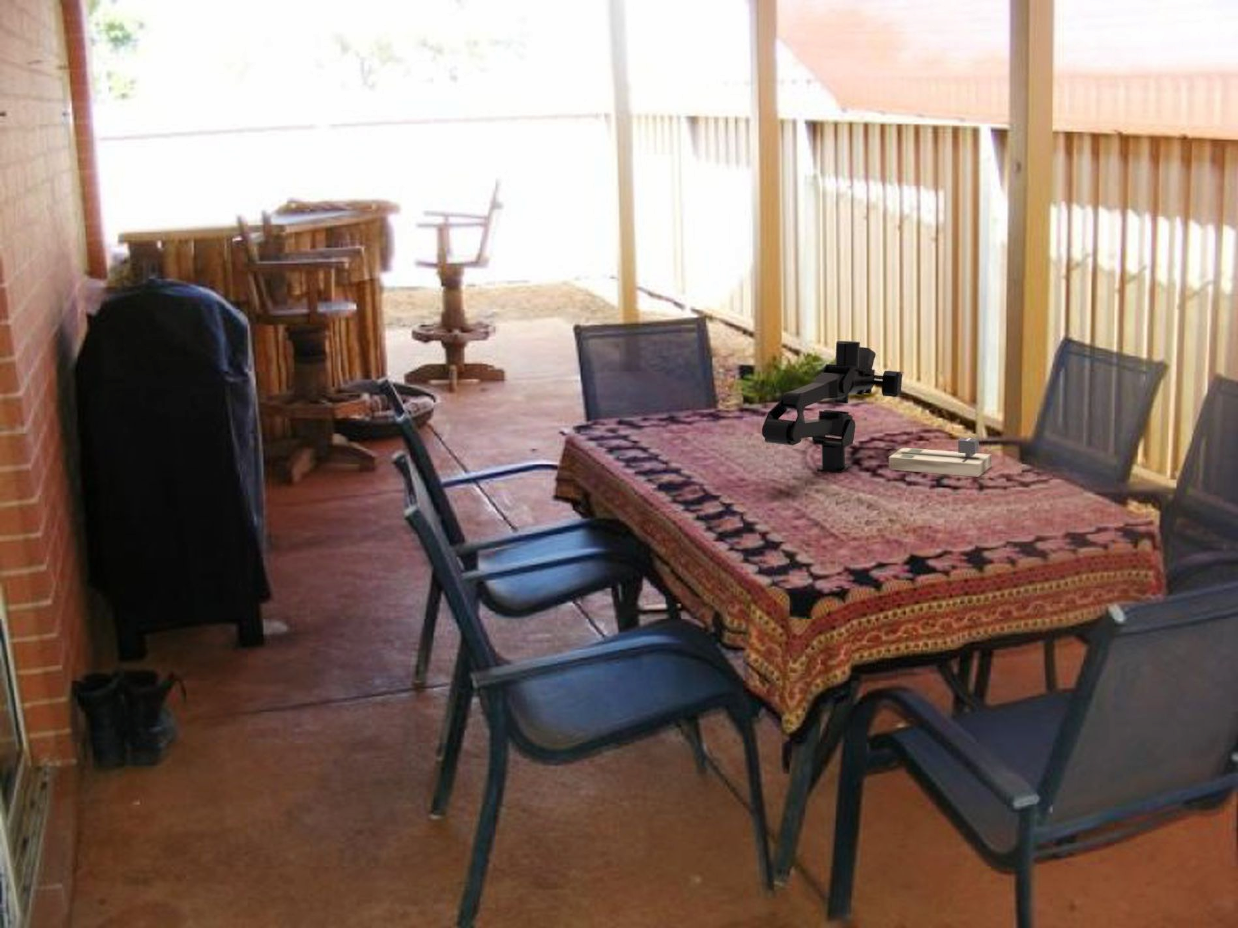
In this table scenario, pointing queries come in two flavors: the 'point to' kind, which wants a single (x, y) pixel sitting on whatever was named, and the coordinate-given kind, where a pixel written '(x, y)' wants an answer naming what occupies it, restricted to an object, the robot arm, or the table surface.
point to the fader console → (939, 462)
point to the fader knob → (968, 446)
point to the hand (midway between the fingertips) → (881, 379)
